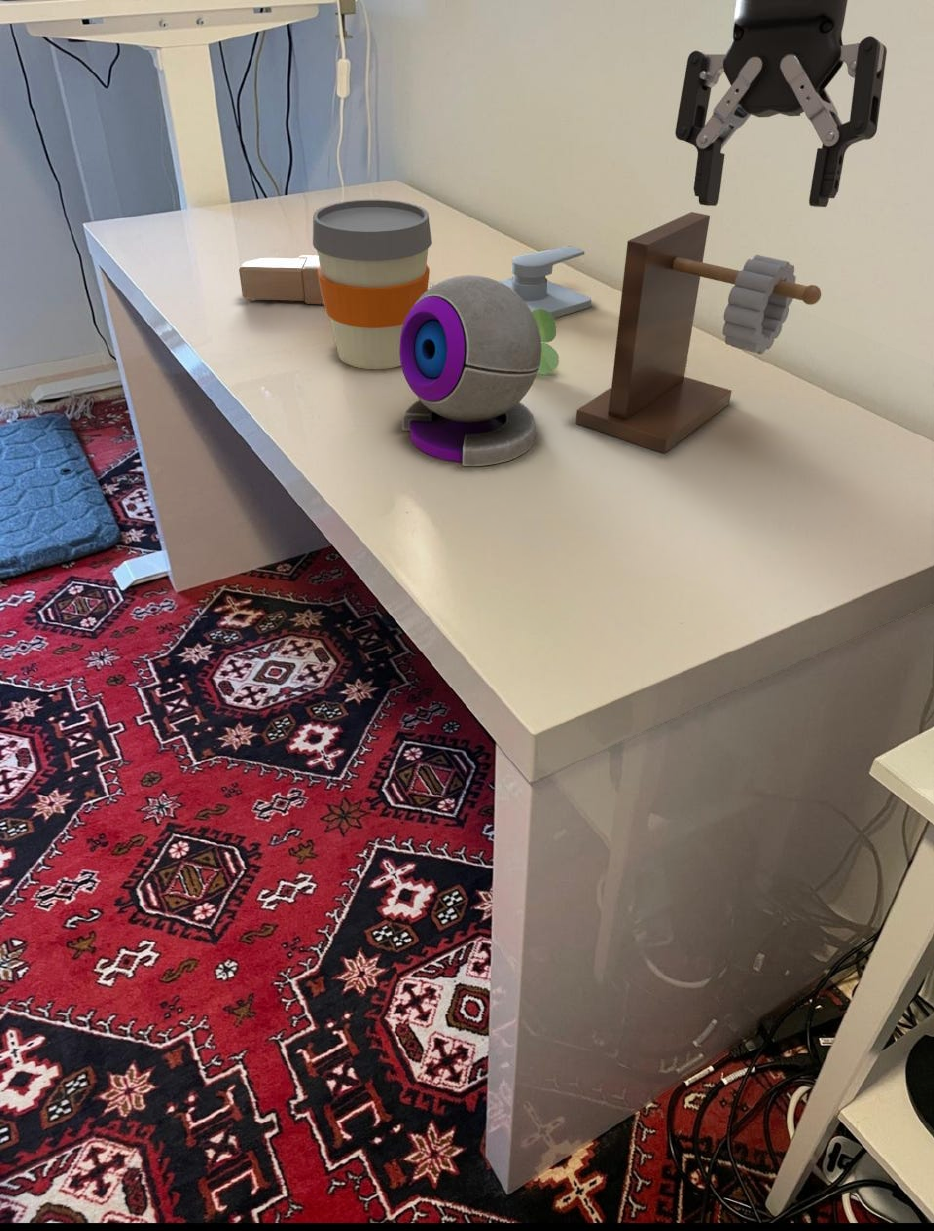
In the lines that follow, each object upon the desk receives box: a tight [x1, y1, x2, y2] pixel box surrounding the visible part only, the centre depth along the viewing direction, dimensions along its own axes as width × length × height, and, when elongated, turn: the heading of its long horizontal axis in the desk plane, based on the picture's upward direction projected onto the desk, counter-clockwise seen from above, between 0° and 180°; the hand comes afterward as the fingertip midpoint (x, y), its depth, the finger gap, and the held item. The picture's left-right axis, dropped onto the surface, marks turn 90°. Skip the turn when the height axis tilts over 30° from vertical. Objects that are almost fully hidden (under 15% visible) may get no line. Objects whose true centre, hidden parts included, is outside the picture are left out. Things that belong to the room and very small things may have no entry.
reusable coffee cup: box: [312, 198, 433, 370], centre depth 104 cm, size 13×13×15 cm
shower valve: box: [498, 245, 592, 319], centre depth 121 cm, size 12×6×15 cm
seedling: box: [532, 309, 560, 376], centre depth 107 cm, size 7×8×6 cm
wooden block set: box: [238, 254, 324, 305], centre depth 125 cm, size 17×6×18 cm
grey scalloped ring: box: [722, 254, 797, 355], centre depth 85 cm, size 3×8×8 cm, turn 142°
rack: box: [575, 211, 822, 454], centre depth 89 cm, size 19×14×18 cm
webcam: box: [399, 274, 542, 467], centre depth 88 cm, size 13×13×15 cm
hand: (760, 205), depth 72 cm, fingers open, 8 cm apart
